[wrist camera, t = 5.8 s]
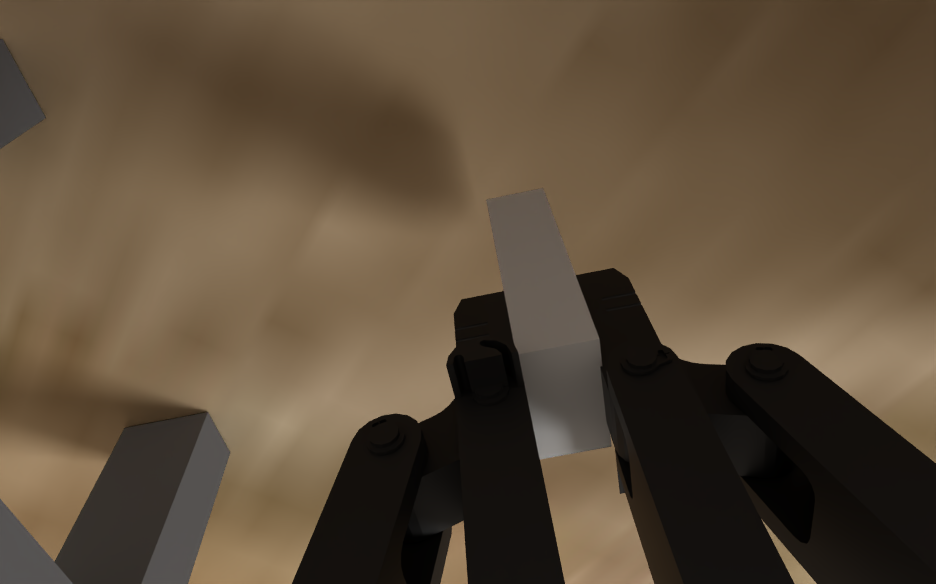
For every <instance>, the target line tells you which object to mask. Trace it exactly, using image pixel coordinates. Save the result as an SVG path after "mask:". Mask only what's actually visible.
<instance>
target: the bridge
mask: <svg viewBox="0 0 936 584" xmlns="http://www.w3.org/2000/svg"><path fill="white" fill-rule="evenodd" d="M45 118H46V117H45V115H44V114H43V112H42V110H41V108H40V106H39V105H38V103H37V101H36V99H35V97H34V95H33V94H32V92H31V90H30V88H29V86H28V85H27V83H26V81H25V79H24V77H23V76H22V74H21V72H20V70H19V68H18V66H17V65H16V63H15V61H14V59H13V57H12V56H11V54H10V52H9V50H8V48H7V46H6V45H5V43H4V41H3V39H0V149H1V148H2V147H4V146H5V145H7V144H8V143H10V142H11V141H13V140H14V139H15V138H17V137H18V136H20V135H21V134H23V133H24V132H26V131H27V130H29V129H30V128H32V127H33V126H34V125H36V124H37V123H39V122H40V121H42V120H43V119H45ZM229 455H230V451H229V450H228V448H227V446H226V444H225V442H224V441H223V439H222V437H221V435H220V433H219V431H218V430H217V428H216V426H215V424H214V422H213V421H212V419H211V417H210V415H209V413H208V412H206V413H201V414H196V415H190V416H185V417H180V418H175V419H170V420H164V421H159V422H154V423H149V424H144V425H138V426H133V427H128V428H124V430H123V432H122V434H121V436H120V438H119V440H118V442H117V443H116V445H115V447H114V449H113V451H112V453H111V455H110V457H109V459H108V461H107V463H106V465H105V466H104V468H103V470H102V472H101V474H100V476H99V478H98V480H97V482H96V484H95V486H94V487H93V489H92V491H91V493H90V495H89V497H88V499H87V501H86V503H85V505H84V507H83V508H82V510H81V512H80V514H79V516H78V518H77V520H76V522H75V524H74V526H73V528H72V529H71V531H70V533H69V535H68V537H67V539H66V541H65V543H64V545H63V547H62V549H61V550H60V552H59V554H58V556H57V558H56V560H55V562H54V561H53V560H52V559H51V557H50V556H49V555H48V554H47V553H46V552H45V550H44V549H43V548H42V547H41V546H40V545H39V543H38V542H37V541H36V540H35V539H34V538H33V536H32V535H31V534H30V533H29V532H28V531H27V530H26V528H25V527H24V526H23V525H22V524H21V523H20V521H19V520H18V519H17V518H16V517H15V516H14V514H13V513H12V512H11V511H10V510H9V509H8V507H7V506H6V505H5V504H4V503H3V502H2V500H1V499H0V584H188V582H189V579H190V576H191V572H192V569H193V566H194V563H195V560H196V557H197V554H198V551H199V548H200V545H201V541H202V538H203V535H204V532H205V529H206V526H207V523H208V520H209V517H210V514H211V511H212V507H213V504H214V501H215V498H216V495H217V492H218V489H219V486H220V483H221V480H222V476H223V473H224V470H225V467H226V464H227V461H228V458H229Z"/></svg>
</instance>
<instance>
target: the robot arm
mask: <svg viewBox="0 0 936 584" xmlns="http://www.w3.org/2000/svg"><path fill="white" fill-rule="evenodd" d="M486 201H487V206H488V211H489V216H490V222H491V227H492V232H493V237H494V242H495V247H496V253H497V258H498V263H499V268H500V273H501V279H502V284H503V289H504V291H502V292H497V293H492V294H487V295H482V296H477V297H472V298H467V299H462V300H461V302H460V303H459V305H458V307H457V309H456V311H455V313H454V324H455V338H456V348H455V349H454V350H453V351H452V353H451V354H450V355H449V356H448V360H447V364H446V366H447V370H448V374H449V377H450V381H451V385H452V388H453V392H454V395H455V399H454V400H453V401H452V402H451V404H450V405H449V406H448V407H447V408H445V409H444V410H443V411H442V412H440V413H438V414H437V415H435V416H433V417H431V418H429V419H426V420H424V421H422V422H420V423H418V422H417V421H416V420H415V419H413V418H411V417H410V416H408V415H402V414H390V415H384V416H381V417H378V418H376V419H374V420H372V421H369V422H368V423H367V424H366V425H364V426H363V427H362V428H361V429H359V430H358V432H357V433H356V435H355V437H354V438H353V440H352V442H351V444H350V446H349V449H348V451H347V454H346V456H345V458H344V461H343V463H342V465H341V468H340V470H339V473H338V475H337V477H336V480H335V482H334V485H333V487H332V489H331V492H330V494H329V496H328V499H327V501H326V504H325V506H324V508H323V511H322V513H321V516H320V518H319V520H318V523H317V525H316V528H315V530H314V532H313V535H312V537H311V539H310V542H309V544H308V547H307V549H306V551H305V554H304V556H303V559H302V561H301V563H300V566H299V568H298V571H297V573H296V575H295V578H294V580H293V582H292V584H440V582H441V578H442V574H443V569H444V565H445V560H446V556H447V551H448V547H449V543H450V538H451V534H452V526H453V525H455V524H457V523H459V522H461V521H463V520H464V531H465V546H466V561H467V575H468V584H565V582H564V577H563V572H562V567H561V562H560V557H559V552H558V547H557V542H556V537H555V532H554V527H553V523H552V518H551V513H550V508H549V503H548V498H547V493H546V488H545V483H544V478H543V473H542V468H541V463H540V459H545V458H551V457H556V456H562V455H567V454H573V453H578V452H583V451H589V450H594V449H600V448H605V447H611V438H610V434H611V437H612V440H613V444H614V447H615V453H616V462H617V471H618V480H619V489H620V494H621V493H625V494H626V497H627V500H628V503H629V506H630V509H631V512H632V515H633V519H634V522H635V525H636V528H637V531H638V534H639V537H640V540H641V544H642V547H643V550H644V553H645V556H646V559H647V562H648V565H649V569H650V572H651V575H652V578H653V581H654V584H794V582H793V580H792V578H791V576H790V574H789V572H788V570H787V568H786V566H785V564H784V562H783V561H782V559H781V557H780V555H779V553H778V551H777V549H776V547H775V545H774V543H773V541H772V539H771V537H770V535H769V533H768V531H767V529H766V527H765V525H764V524H763V522H762V520H763V521H764V522H765V524H766V525H767V526H768V527H769V528H770V529H771V531H772V532H773V533H774V534H775V535H776V536H777V538H778V539H779V540H780V541H781V542H782V543H783V545H784V546H785V547H786V548H787V549H788V550H789V552H790V553H791V554H792V555H793V556H794V557H795V559H796V560H797V561H798V562H799V563H800V564H801V566H802V567H803V568H804V569H805V570H806V571H807V573H808V574H809V575H810V576H811V577H812V578H813V580H814V581H815V582H816V583H817V584H936V463H935V462H933V461H932V460H931V459H930V458H928V457H927V456H926V455H925V454H923V453H922V452H921V451H920V450H918V449H917V448H916V447H914V446H913V445H912V444H911V443H909V442H908V441H907V440H906V439H904V438H903V437H902V436H901V435H899V434H898V433H897V432H896V431H894V430H893V429H892V428H891V427H889V426H888V425H887V424H886V423H884V422H883V421H882V420H881V419H879V418H878V417H877V416H876V415H874V414H873V413H872V412H871V411H869V410H868V409H867V408H866V407H864V406H863V405H862V404H860V403H859V402H858V401H857V400H855V399H854V398H853V397H852V396H850V395H849V394H848V393H847V392H845V391H844V390H843V389H842V388H840V387H839V386H838V385H837V384H835V383H834V382H833V381H832V380H830V379H829V378H828V377H827V376H825V375H824V374H823V373H822V372H820V371H819V370H818V369H817V368H815V367H814V366H813V365H812V364H810V363H809V362H808V361H806V360H805V359H804V358H803V357H801V356H800V355H799V354H797V353H795V352H794V351H792V350H790V349H788V348H786V347H782V346H779V345H775V344H764V343H755V344H751V345H746V346H742V347H740V348H738V349H737V350H735V351H733V352H732V353H731V354H730V356H729V357H728V359H727V360H726V365H715V364H699V363H692V362H688V361H684V360H681V359H679V358H678V356H677V355H676V354H675V353H674V352H673V351H672V350H671V349H670V348H668V347H666V346H664V345H662V344H661V342H660V340H659V338H658V336H657V334H656V332H655V330H654V328H653V326H652V324H651V322H650V320H649V318H648V316H647V314H646V312H645V310H644V308H643V306H642V305H641V302H640V300H639V298H638V296H637V294H636V293H635V290H634V288H633V286H632V284H631V282H630V280H629V278H628V277H626V276H625V275H623V274H622V273H620V272H619V271H617V270H616V269H614V268H611V269H606V270H601V271H596V272H591V273H585V274H580V275H575V272H574V270H573V267H572V264H571V262H570V259H569V256H568V254H567V251H566V248H565V246H564V243H563V240H562V237H561V235H560V232H559V229H558V227H557V224H556V221H555V219H554V216H553V213H552V211H551V208H550V205H549V203H548V200H547V197H546V195H545V192H544V189H543V188H540V189H535V190H531V191H526V192H521V193H516V194H511V195H506V196H501V197H496V198H492V199H487V200H486ZM761 519H762V520H761Z"/></svg>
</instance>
